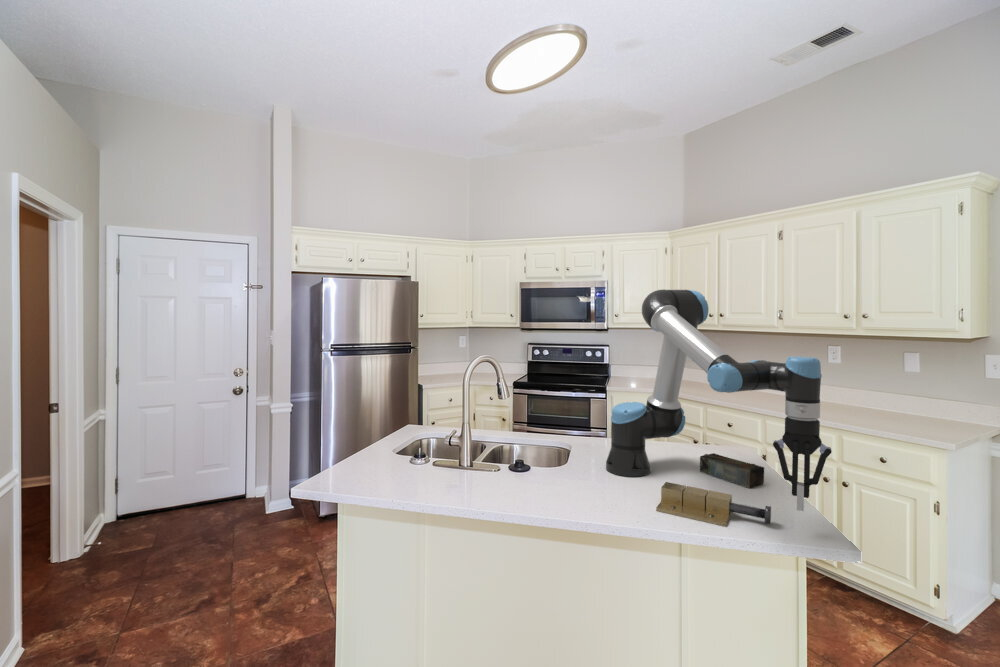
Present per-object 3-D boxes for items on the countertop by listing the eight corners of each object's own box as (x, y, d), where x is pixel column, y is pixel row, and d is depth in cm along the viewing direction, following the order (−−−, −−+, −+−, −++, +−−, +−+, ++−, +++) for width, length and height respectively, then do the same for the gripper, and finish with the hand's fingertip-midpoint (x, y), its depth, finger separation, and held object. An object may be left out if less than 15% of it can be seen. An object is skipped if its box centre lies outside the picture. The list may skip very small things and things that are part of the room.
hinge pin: (692, 509, 136) (692, 494, 136) (695, 504, 140) (695, 489, 140) (769, 526, 126) (770, 510, 126) (770, 520, 130) (771, 504, 129)
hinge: (656, 510, 136) (656, 492, 136) (669, 493, 149) (670, 477, 149) (725, 526, 127) (726, 507, 126) (733, 506, 139) (734, 489, 139)
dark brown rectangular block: (713, 468, 173) (713, 450, 173) (765, 485, 157) (766, 465, 156) (698, 472, 169) (699, 453, 169) (751, 490, 153) (751, 469, 152)
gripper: (771, 417, 123) (769, 508, 124) (833, 423, 116) (831, 520, 117) (773, 412, 129) (772, 498, 130) (832, 417, 122) (830, 509, 123)
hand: (800, 508), depth 124 cm, fingers closed
